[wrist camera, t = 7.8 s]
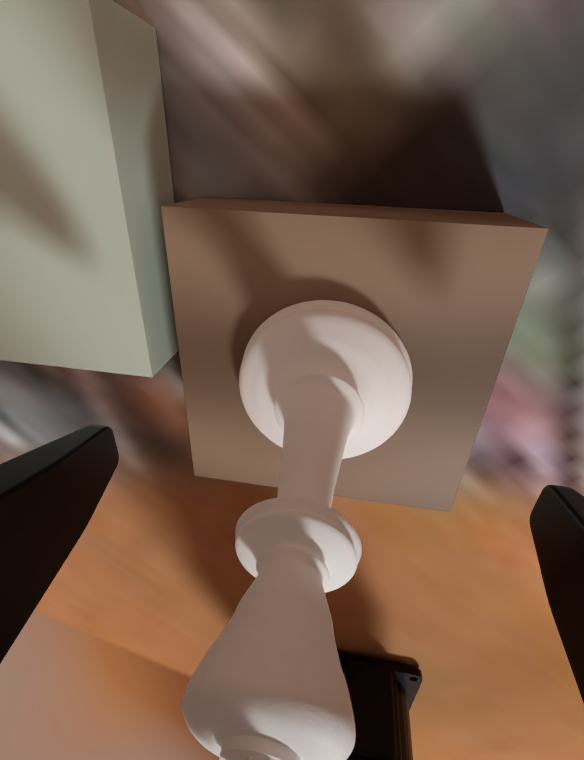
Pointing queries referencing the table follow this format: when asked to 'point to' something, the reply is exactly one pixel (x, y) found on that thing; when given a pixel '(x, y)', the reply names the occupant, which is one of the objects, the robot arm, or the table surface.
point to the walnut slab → (366, 290)
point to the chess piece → (299, 535)
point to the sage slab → (83, 189)
